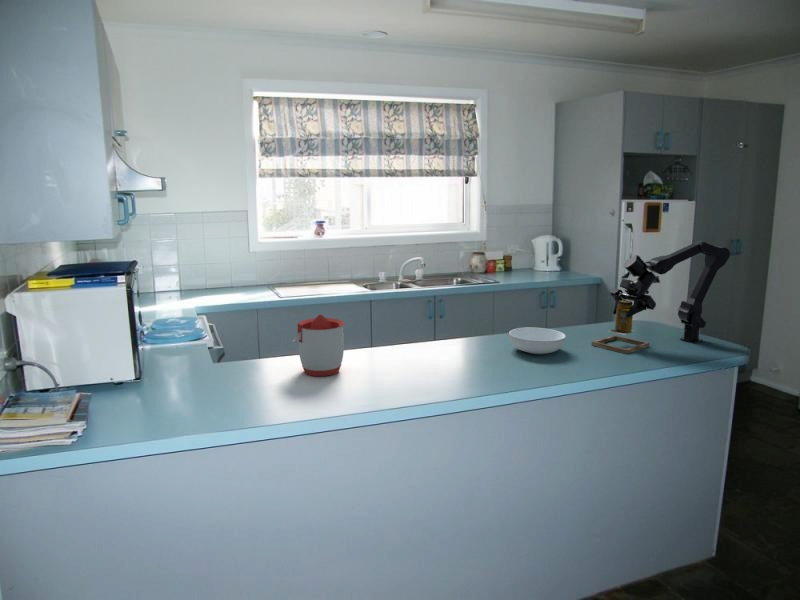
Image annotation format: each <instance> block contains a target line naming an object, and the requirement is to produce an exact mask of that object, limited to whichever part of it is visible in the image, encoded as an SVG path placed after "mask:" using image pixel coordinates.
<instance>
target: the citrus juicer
mask: <svg viewBox="0 0 800 600" xmlns="http://www.w3.org/2000/svg"><path fill="white" fill-rule="evenodd" d="M344 325H345V322H344V321H343V320H341V319H337V318H331V317H330V318H328V317H325V316H324V315H323V314H321V313H320V314H318V315H317V316H316V317H315V318H308V319H304V320H301V321H299V322H298V323H297V333H296V334H294V335H293V336H292V342H298V355H299V359H300V363H301V367H302V370H303V371H304V373H305V374H306V375H309V376H312V377H325V376H326V377H327V376H333V375H336V374H337V373H338V372H340V369H341V367H342V362H343V358H344V351H345V348H344V347H345V345H344V344H345V341H344V340H345V339H344V338H345V337H344V336H345V335H344Z"/></svg>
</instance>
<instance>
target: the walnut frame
mask: <svg viewBox="0 0 800 600" xmlns="http://www.w3.org/2000/svg"><path fill="white" fill-rule="evenodd" d="M613 341H621V342H624V343H628V344H633V345H635V346H632V347H628V348H623V347H618V346H614V345H610V344H606V343H608V342H613ZM591 346H594V347H598V348H600V349H605V350H609V351H612V352H613V351H614V352H617V353H620V354H625V355H627V354H630V353H634V352H637V351H641V350H643V349H647V348H649V347H650V342H647V341H643V340H639V339H635V338H630V337H624V336H621V335H618V334H617V335H616V334H615V335H611V336H608V337H607V336H606V337H603V338H600V339H597V340H592V341H591ZM646 347H647V348H646Z"/></svg>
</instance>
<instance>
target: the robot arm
mask: <svg viewBox="0 0 800 600" xmlns="http://www.w3.org/2000/svg"><path fill="white" fill-rule="evenodd" d="M699 254H703V255H705V257H704V267H703V269H702V272H701V274H700V276H699V278H698V280H697V283H696V284H695V287H694V289H693V290H692V293H691V294H690V297H689V299H687V300H686V301H685V300H682V301H681V303H680V305H679V308H677V310H678V311H677V316H678V318H679V320H680V323H681V324H683V325H684V330H683V337H681V338H679V341H680V340H681V341H684V342H688V343H689V342H690V343H695V344H696V343H699V342H702V341H703V338H700V334H701V329H704V328H705V327H706V325H707V322H706V321H705V320H704V318H702V313H703V303H704V301H705V298H706V297H707V294H708V292H709V290H710V288H711V285H712V283H713V281H714V279H715V277H716V275H717V273H718V271H719V270H720V269H721V268H723V267H724V266H725V265H726V264H727V262H728V261H729V259H730V257H731V252H730V250H729V248H727V247H723V246H719V245H713V244H710V243H708V242H706V241H702V240H696V241H693V243H691V244H688V245H687V246H684V247H683V248H681V249H678V250H676V251H674V252H672V253H670V254H667V255H661V256H655V257H652V258H651V259H650V260H647V261H644V260H643V259H642V258H641V256H639V254H638V255H637V254H634V256H632V257H630V258H628V259H626V260H625V262H623V264H622V265H623V268H624V269H625V270H627V272H628V273H629V274H630V275H631V276H632V277H634V278H635V277H637V278H636V279H634V280H631V279H626V278H621V281H620V284H619V287H620V288H623V289H624V290H623V291H624V292H625V293H624V292H623V291H622V289H619V288H613V287H612V288H611V289H610V291H609V294H610V296H611V297H612V299H613V300H614V301H615V303H614V308H613V312H612V314H613V315H616V310H617V307H618V301H619V300H628V301H632V302H633V304H632V307H631V308H630V310H629V311H628V313H627V315H626V317H627V318H629V317H631V316H632V315H633V316H634V315H636V314H638V313H640V312H643V311H647V309H648V310H652V311H653V310H655V308H656V307H657V303H656V301H655V299H654V298H653V296H652V295H649V293H650V292H649V289H650V287H651V286H652V285H653V284H660V283H661V281H660V276H659V275H665V274H667V273H668V272H670V271H671V270H672V269H674V267H675V266H676V265H677V264H679V263H682V262H685V261H686V260H688V259H690V258H693V257H694V256H697V255H699ZM656 274H658V275H656Z"/></svg>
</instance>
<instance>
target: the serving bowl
mask: <svg viewBox="0 0 800 600" xmlns="http://www.w3.org/2000/svg"><path fill="white" fill-rule="evenodd" d="M508 335H509V336H508V337H509V340H510V343H511V345H513V347H515V348H516V349H518V350H519V351H521V352H522V351H523V352H525V353H528V354H533V355H544V354H550V353H554V352H556V351H558V350H560V349H561V348H562V347H563V346H564V343H566V342H565V341H566V338H567V336H566V335H565V333H563V332H562V331H558V330H555V329H552V328H545V327H544V328H543V327H534V326H533V327H526V326H525V327H518V328H514V329H511V330H510V331H509V332H508Z"/></svg>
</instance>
